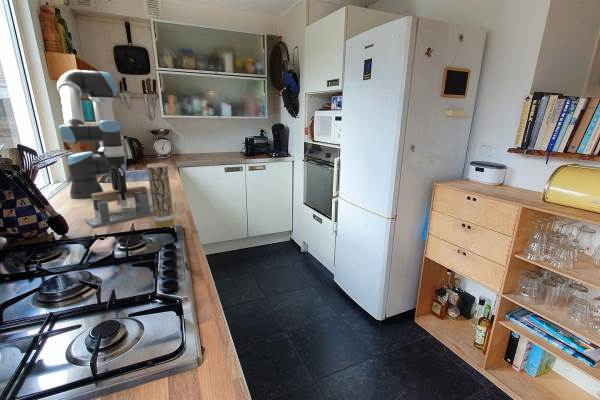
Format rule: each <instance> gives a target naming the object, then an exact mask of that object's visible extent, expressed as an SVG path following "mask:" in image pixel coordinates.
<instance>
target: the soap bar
mask: <svg viewBox="0 0 600 400" xmlns="http://www.w3.org/2000/svg"><path fill="white" fill-rule="evenodd" d="M104 238H105V237H104ZM97 239H98V238H97ZM97 239H96V240H95V241H94V243H92V245H91V246H90V247H89V249H90V250H92V251H94V252H101V251H108V250H109V249H110V248H111V246H112V244H113V243H114V241H115V240H116V237H115V236H107V238H105V239H104V240H100V239H98V240H97ZM111 249H112V248H111ZM90 250H89V251H90Z"/></svg>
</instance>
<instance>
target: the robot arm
mask: <svg viewBox="0 0 600 400" xmlns="http://www.w3.org/2000/svg"><path fill="white" fill-rule="evenodd" d="M56 88H57V92H58V94H59V95H60V98H61V105H62V114H63V115H62V116H63V122H64V124H61V125H59V127H58V128H59V134H60V135H59V136H60V138H61V141H62V142H64V143H87V142H88V143H89V142H90V143H91V142H98V143H99V148H98V149H97V153H94V152H93V151H82V152H77V153H73V154H70V155H68V156H67V166H68V169H69V175H70V179H71V180H70V181H71V187H70V192H69V196H70V198H71V199H90V198H92V196H91V194H93V193H100V192H104V189H103V187H102V185H101V184H100V182H99V180H98V176H105V175H110V180H111V187H112V190H119V193H118V194H119V200H117V201H115V202H116V206H120V208H125V207H128V202H127V200H128V199H126V192H127V188H128V187H127V181H126V170H127V158H126V157H127V154H126V152H124V146H123V142H122V141H123V140H122V132H121V129H122V128H121V125H120V122H119V121H118V120H115V117H114V109H113V104H112V102H113V101H114V100H115V97H116V96H117V89H116V88H117V87H116V84H115V81H114V78H113V76H112V74H111V73H109V72H106V71H99V70H96V71H95V70H81V69H73V70H72V69H71V70H68V71H67V72H65V73H64V74H62V75H61V76H60V77H59V79H58V80H57V82H56ZM82 95H87V96H88V97H87V98H88V99H89V100H90V101H91V102H92V106H93V107H92V108H93V111H94V117H95V123H96V124H86V122H85V117H84V111H83V106H82V100H81V96H82Z"/></svg>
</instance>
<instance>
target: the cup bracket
mask: <svg viewBox="0 0 600 400" xmlns="http://www.w3.org/2000/svg"><path fill="white" fill-rule="evenodd" d="M134 198H135V202H134V206H135V209H130V210H125V211H120V212H119V211H118V212H116V213H115V212H114V213H110V210H109V211H108V208H109V204H108V205H107V203H108V202H102V199H101V198H100V199H94V200H93V202H92V204H93V205H92V206H93V211H94V215H95V217H90V218H85V219H84V220H85V223H86V224H88V225H89V226H90V227H91V228H92V229H93V228H98V227H103V226H107V225H112V224H116V223H121V222H126V221H130V220H135V219H138V218H143V217H144V218H145V217H148V216H152V215H153V207H152V206H151V205H150V200H149V194H147V195H142V192H137V193H134ZM134 198H133V199H134ZM153 216H154V215H153Z"/></svg>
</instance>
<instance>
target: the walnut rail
mask: <svg viewBox="0 0 600 400" xmlns="http://www.w3.org/2000/svg"><path fill="white" fill-rule="evenodd" d="M137 192H142V195H148V192H147V187H146V186H143V185H140V186H133V187H127V192H126V200H128V199H134V193H137ZM118 193H119V190H114V189H112V190H108V191H107V190H106V191H103V192H100V193H93V194H91V196H92V197H91V200H92V203H93V200H94V199H100V198H101V199H102V202H107V203H109V202H116V201H117V200H119V194H118Z"/></svg>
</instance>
